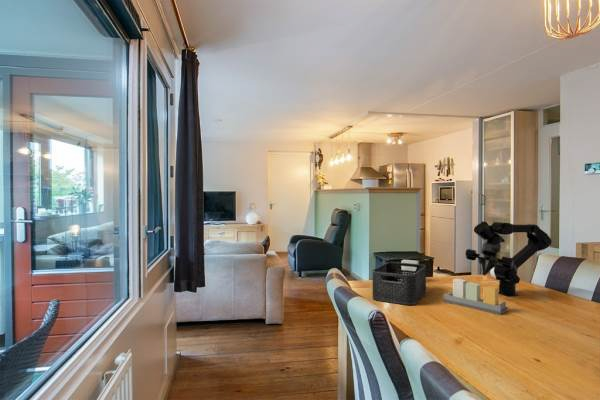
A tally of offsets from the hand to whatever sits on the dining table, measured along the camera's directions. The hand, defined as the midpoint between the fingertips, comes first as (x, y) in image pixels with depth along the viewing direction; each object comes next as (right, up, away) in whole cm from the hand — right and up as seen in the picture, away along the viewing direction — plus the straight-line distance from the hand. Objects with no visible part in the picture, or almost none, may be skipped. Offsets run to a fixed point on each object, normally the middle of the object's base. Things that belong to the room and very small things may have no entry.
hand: (483, 274), depth 152 cm
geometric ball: (+29, -11, +39) cm, 50 cm away
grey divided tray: (-7, -12, -6) cm, 15 cm away
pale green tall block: (-8, -10, -7) cm, 15 cm away
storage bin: (-34, -12, +10) cm, 38 cm away
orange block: (-4, -10, -13) cm, 17 cm away
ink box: (-22, -12, +35) cm, 42 cm away
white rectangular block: (-11, -10, 0) cm, 15 cm away
